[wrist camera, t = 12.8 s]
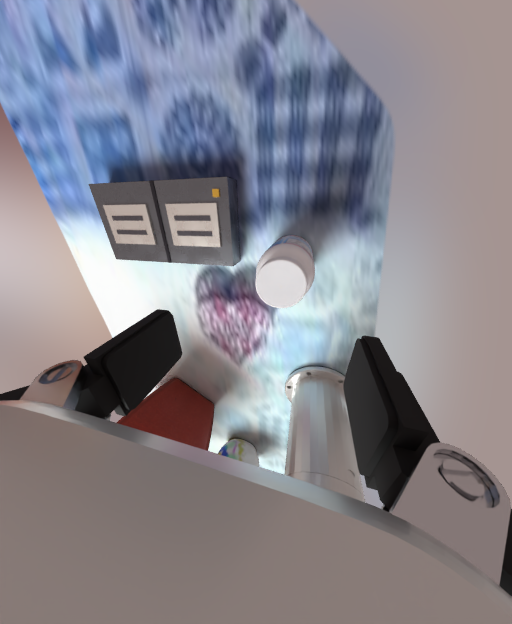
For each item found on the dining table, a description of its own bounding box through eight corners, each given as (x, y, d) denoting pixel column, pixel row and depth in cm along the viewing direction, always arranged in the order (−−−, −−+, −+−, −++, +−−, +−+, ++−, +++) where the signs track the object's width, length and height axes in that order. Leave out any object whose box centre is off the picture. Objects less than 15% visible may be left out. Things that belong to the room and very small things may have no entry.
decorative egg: (237, 428, 51) (212, 501, 38) (271, 452, 52) (259, 530, 40) (216, 440, 57) (189, 506, 45) (247, 461, 59) (229, 531, 46)
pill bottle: (274, 282, 28) (256, 318, 19) (265, 240, 26) (238, 258, 16) (316, 274, 26) (319, 312, 17) (310, 229, 24) (310, 242, 14)
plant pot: (199, 429, 57) (161, 504, 42) (146, 393, 54) (87, 459, 40) (232, 407, 47) (198, 494, 33) (169, 361, 44) (103, 434, 30)
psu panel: (236, 180, 23) (225, 176, 20) (240, 260, 28) (232, 266, 25) (108, 186, 28) (85, 183, 25) (131, 255, 33) (113, 259, 30)
